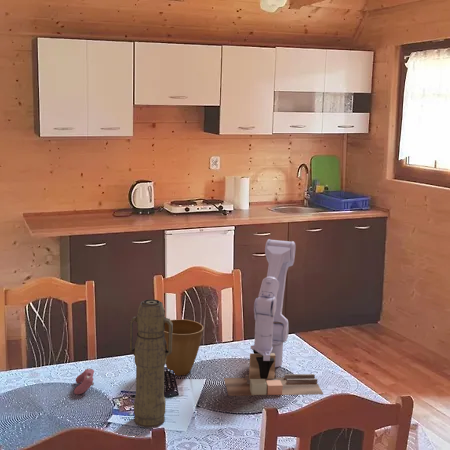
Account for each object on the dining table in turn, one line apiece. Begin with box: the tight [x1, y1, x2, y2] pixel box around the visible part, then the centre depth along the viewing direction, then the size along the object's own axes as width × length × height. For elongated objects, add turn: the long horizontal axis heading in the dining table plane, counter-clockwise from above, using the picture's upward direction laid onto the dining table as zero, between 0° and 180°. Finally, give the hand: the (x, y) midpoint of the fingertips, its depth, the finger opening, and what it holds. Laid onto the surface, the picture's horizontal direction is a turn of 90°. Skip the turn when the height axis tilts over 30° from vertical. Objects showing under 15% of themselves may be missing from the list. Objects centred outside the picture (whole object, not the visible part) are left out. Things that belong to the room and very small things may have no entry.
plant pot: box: [164, 318, 204, 377], centre depth 218 cm, size 15×15×16 cm
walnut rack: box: [223, 373, 324, 397], centre depth 208 cm, size 13×30×2 cm, turn 96°
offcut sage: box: [250, 379, 267, 396], centre depth 203 cm, size 4×5×4 cm
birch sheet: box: [248, 353, 276, 379], centre depth 211 cm, size 2×8×9 cm, turn 96°
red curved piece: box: [73, 368, 95, 395], centre depth 203 cm, size 10×5×7 cm, turn 10°
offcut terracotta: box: [266, 380, 283, 396], centre depth 204 cm, size 4×5×3 cm
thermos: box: [129, 298, 173, 429], centre depth 182 cm, size 9×12×35 cm
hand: (261, 373), depth 211 cm, fingers open, 7 cm apart
